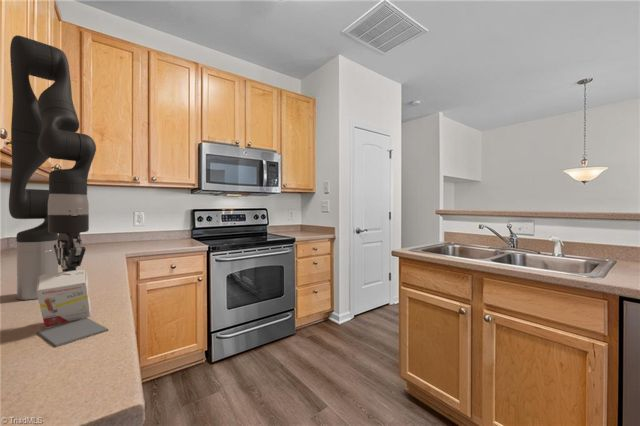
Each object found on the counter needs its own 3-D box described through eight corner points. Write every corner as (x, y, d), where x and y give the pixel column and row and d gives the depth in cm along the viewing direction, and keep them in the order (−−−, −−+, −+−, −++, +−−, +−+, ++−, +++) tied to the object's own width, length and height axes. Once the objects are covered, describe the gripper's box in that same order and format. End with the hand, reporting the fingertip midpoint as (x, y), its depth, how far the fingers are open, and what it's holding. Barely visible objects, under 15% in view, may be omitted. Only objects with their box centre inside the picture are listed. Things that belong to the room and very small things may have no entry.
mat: (36, 332, 63) (36, 330, 63) (86, 319, 71) (86, 317, 71) (56, 346, 57) (56, 344, 57) (108, 330, 65) (108, 328, 65)
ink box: (43, 327, 66) (34, 290, 61) (45, 312, 69) (37, 275, 64) (90, 317, 71) (86, 282, 66) (90, 303, 74) (86, 268, 69)
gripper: (39, 212, 70) (39, 283, 70) (58, 213, 63) (59, 291, 63) (77, 212, 76) (77, 276, 77) (98, 213, 69) (99, 284, 70)
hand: (69, 283), depth 70 cm, fingers closed
